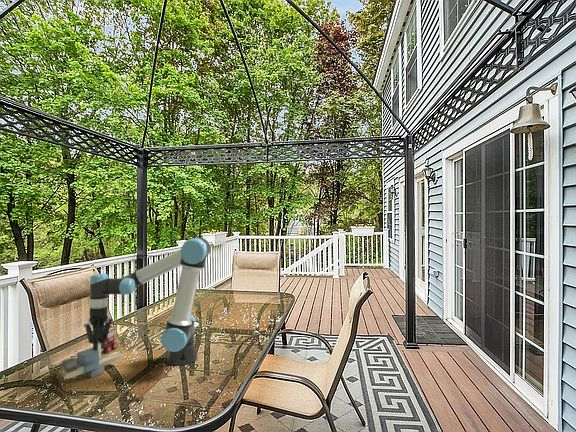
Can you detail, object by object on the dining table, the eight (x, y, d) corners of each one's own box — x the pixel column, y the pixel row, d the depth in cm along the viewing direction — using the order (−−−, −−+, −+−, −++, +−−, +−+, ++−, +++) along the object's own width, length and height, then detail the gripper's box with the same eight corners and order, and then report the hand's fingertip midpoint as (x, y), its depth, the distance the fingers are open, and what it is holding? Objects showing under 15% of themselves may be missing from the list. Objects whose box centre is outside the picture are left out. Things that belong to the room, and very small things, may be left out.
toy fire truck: (93, 354, 191) (93, 335, 191) (108, 346, 203) (108, 328, 203) (104, 355, 190) (105, 335, 190) (119, 347, 202) (119, 329, 202)
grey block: (98, 367, 164) (98, 351, 164) (85, 372, 159) (85, 355, 159) (89, 364, 168) (89, 348, 168) (76, 368, 163) (77, 352, 163)
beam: (123, 366, 175) (123, 345, 175) (68, 386, 153) (69, 363, 153) (115, 363, 179) (115, 343, 179) (60, 383, 157) (60, 360, 157)
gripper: (107, 303, 176) (106, 350, 175) (80, 308, 165) (79, 359, 164) (116, 305, 172) (115, 353, 171) (89, 310, 161) (88, 362, 160)
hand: (97, 356), depth 168 cm, fingers closed
